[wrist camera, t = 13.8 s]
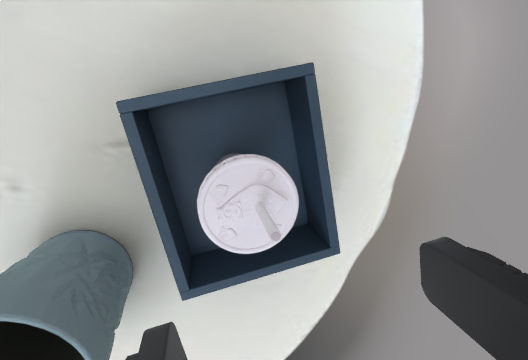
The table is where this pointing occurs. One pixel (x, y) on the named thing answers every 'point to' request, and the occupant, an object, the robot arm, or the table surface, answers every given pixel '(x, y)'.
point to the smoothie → (247, 203)
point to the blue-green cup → (64, 299)
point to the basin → (220, 144)
